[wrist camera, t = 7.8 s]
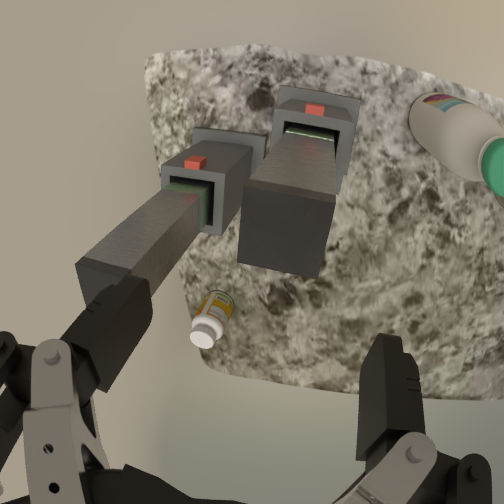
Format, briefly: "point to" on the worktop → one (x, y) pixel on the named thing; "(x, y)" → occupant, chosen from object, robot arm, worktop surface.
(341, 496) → the robot arm
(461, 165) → the milk bottle
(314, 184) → the column
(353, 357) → the worktop surface
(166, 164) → the stand
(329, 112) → the stand
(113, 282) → the column
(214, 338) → the supplement bottle
